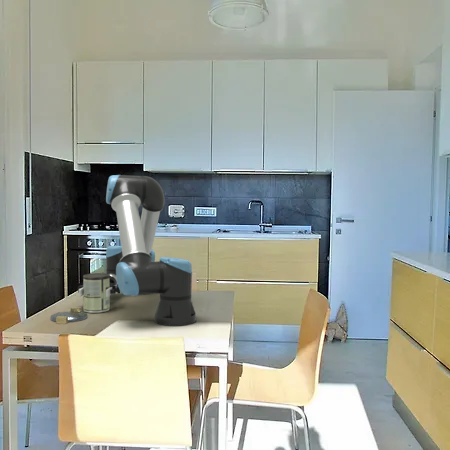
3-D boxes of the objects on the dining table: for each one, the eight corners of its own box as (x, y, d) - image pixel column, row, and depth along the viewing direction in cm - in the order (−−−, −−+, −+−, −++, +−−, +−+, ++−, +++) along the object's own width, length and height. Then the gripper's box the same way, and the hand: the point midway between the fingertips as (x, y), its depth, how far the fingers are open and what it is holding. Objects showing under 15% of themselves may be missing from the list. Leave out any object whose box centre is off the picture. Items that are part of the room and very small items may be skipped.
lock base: (60, 312, 182) (59, 307, 182) (93, 313, 181) (93, 307, 181) (43, 323, 166) (43, 317, 166) (79, 323, 165) (79, 317, 165)
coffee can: (84, 307, 191) (84, 273, 190) (110, 306, 192) (110, 272, 192) (81, 313, 180) (81, 277, 180) (108, 312, 182) (108, 276, 182)
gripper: (134, 292, 204) (122, 303, 182) (83, 291, 204) (64, 302, 182) (134, 275, 204) (122, 284, 181) (83, 274, 204) (64, 283, 182)
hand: (93, 293), depth 182 cm, fingers closed on coffee can, 10 cm apart
